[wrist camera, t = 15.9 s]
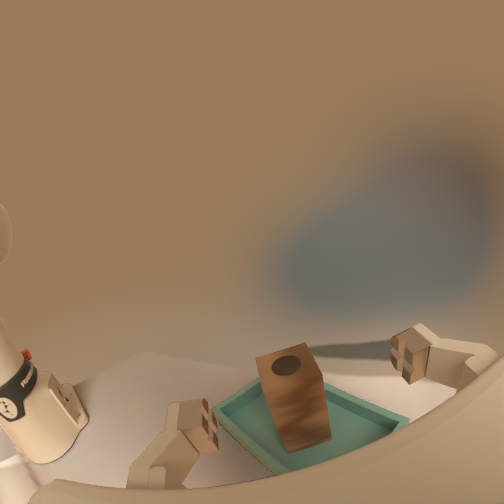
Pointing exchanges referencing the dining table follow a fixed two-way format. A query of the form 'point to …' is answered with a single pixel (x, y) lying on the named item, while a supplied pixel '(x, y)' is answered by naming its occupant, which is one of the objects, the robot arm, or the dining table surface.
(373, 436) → the tray
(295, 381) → the block
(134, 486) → the robot arm
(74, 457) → the dining table surface
